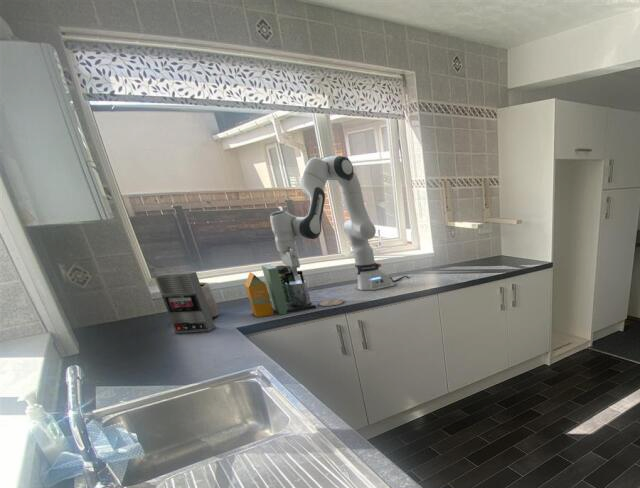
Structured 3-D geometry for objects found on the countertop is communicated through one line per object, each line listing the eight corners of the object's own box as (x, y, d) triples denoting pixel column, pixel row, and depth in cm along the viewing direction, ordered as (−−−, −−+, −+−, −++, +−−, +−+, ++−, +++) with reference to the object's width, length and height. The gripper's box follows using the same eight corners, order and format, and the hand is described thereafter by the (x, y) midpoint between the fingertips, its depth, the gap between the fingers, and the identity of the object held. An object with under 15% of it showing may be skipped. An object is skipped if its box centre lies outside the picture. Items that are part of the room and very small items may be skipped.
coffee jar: (279, 300, 234) (270, 266, 226) (292, 297, 240) (284, 263, 231) (289, 302, 229) (280, 267, 221) (302, 299, 235) (294, 265, 227)
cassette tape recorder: (175, 334, 183) (152, 276, 172) (182, 330, 188) (160, 273, 178) (209, 331, 185) (188, 274, 174) (215, 327, 190) (196, 271, 179)
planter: (168, 325, 195) (155, 292, 188) (187, 315, 211) (175, 283, 204) (210, 322, 198) (199, 289, 191) (225, 312, 214) (215, 281, 207)
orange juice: (257, 317, 204) (244, 275, 195) (252, 313, 210) (240, 273, 201) (274, 313, 209) (263, 273, 200) (269, 310, 215) (258, 270, 206)
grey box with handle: (307, 300, 225) (300, 269, 218) (314, 304, 216) (307, 272, 209) (288, 303, 219) (280, 271, 212) (295, 308, 211) (286, 275, 203)
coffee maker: (308, 302, 228) (298, 260, 218) (317, 307, 217) (306, 264, 208) (273, 308, 218) (261, 265, 208) (280, 314, 207) (267, 269, 198)
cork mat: (338, 299, 232) (338, 298, 232) (346, 303, 223) (346, 302, 223) (316, 303, 225) (316, 302, 225) (323, 307, 217) (323, 306, 217)
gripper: (299, 247, 201) (306, 277, 207) (288, 244, 215) (295, 271, 221) (285, 249, 197) (292, 279, 203) (274, 245, 211) (282, 273, 217)
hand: (293, 275), depth 212 cm, fingers open, 5 cm apart
